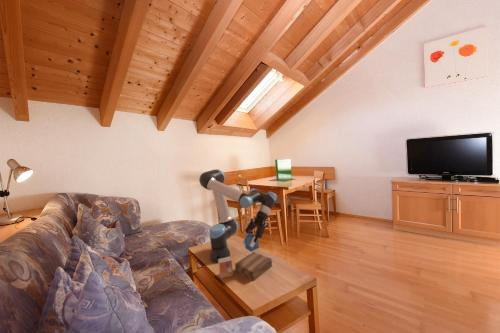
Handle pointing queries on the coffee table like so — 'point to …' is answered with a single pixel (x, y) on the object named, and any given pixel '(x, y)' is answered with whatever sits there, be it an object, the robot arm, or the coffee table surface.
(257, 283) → the coffee table surface
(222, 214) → the robot arm
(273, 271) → the coffee table surface
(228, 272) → the small box
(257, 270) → the walnut riser block
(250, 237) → the perfume bottle
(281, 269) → the coffee table surface
